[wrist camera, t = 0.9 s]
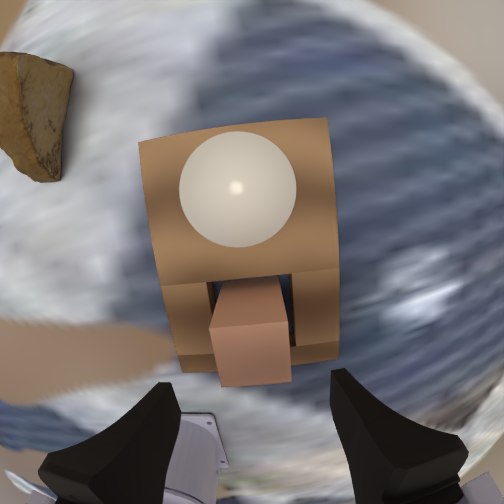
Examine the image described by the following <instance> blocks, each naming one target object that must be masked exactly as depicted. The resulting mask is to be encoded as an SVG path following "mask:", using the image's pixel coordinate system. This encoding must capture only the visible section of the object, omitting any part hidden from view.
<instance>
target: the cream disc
mask: <svg viewBox="0 0 504 504" xmlns="http://www.w3.org/2000/svg"><path fill="white" fill-rule="evenodd" d="M179 195H180V201H181V206H182V209H183V211H184V214H185V216H186V218H187V219H188V221H189V222H190V224H191V225H192V226H193V227H194V229H195V230H196V231H197V232H199V233H200V234H201V235H202V236H203V237H205V238H206V239H208V240H210V241H212V242H214V243H216V244H219V245H223V246H227V247H236V248H237V247H248V246H253V245H256V244H259V243H261V242H263V241H266V240H267V239H269V238H270V237H272V236H273V235H274V234H276V233H277V232H278V231H279V230H280V229H281V228H282V227H283V226H284V224H285V223H286V222H287V220H288V218H289V216H290V215H291V213H292V210H293V207H294V204H295V199H296V180H295V175H294V171H293V168H292V166H291V164H290V162H289V160H288V159H287V157H286V156H285V154H284V153H283V152H282V151H281V150H280V149H279V148H278V147H277V146H276V145H275V144H274V143H272V142H271V141H269V140H268V139H266V138H264V137H262V136H260V135H257V134H254V133H249V132H240V131H236V132H227V133H222V134H219V135H216V136H214V137H212V138H210V139H208V140H207V141H205V142H204V143H202V144H201V145H200V146H199V147H197V148H196V149H195V151H194V152H193V153H192V154H191V155H190V157H189V158H188V160H187V162H186V164H185V166H184V168H183V171H182V174H181V178H180V184H179Z"/></svg>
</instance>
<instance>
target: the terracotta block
mask: <svg viewBox="0 0 504 504" xmlns="http://www.w3.org/2000/svg"><path fill="white" fill-rule="evenodd" d="M209 331H210V336H211V341H212V346H213V350H214V355H215V360H216V365H217V369H218V374H219V378H220V382H221V387H237V386H252V385H264V384H275V383H284V382H292V377H291V360H290V345H289V330H288V319H287V315H286V310H285V305H284V301H283V296H282V292H281V287H280V282H279V278H278V276H275V277H266V278H256V279H246V280H236V281H226V282H223V283H222V287H221V290H220V293H219V296H218V300H217V303H216V306H215V310H214V313H213V316H212V320H211V323H210V326H209Z"/></svg>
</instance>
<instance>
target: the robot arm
mask: <svg viewBox="0 0 504 504" xmlns="http://www.w3.org/2000/svg"><path fill="white" fill-rule="evenodd" d="M330 407H331V411H332V416H333V421H334V424H335V426H336V429H337V432H338V435H339V438H340V440H341V443H342V446H343V449H344V452H345V455H346V457H347V461H348V464H349V469H350V474H351V478H352V484H353V489H354V495H355V501H356V504H504V497H503V495H502V494H501V492H500V490H499V488H498V487H497V485H496V483H495V482H494V480H493V478H492V477H491V475H490V473H489V472H485V473H484V474H482V475H480V476H479V477H477V478H475V479H473V480H471V481H469V482H468V483H466V484H465V485H463V486H462V487H461V488H460V486H459V484H458V482H459V481H460V478H459V476H458V474H457V473H458V472H459V470H460V469H461V467H462V466H463V464H464V463H465V461H466V459H467V457H468V453H469V452H468V450H467V448H466V447H465V445H464V443H463V442H462V440H461V439H460V438H459V437H458V435H454V434H449V433H445V432H441V431H437V430H434V429H431V428H428V427H425V426H423V425H420V424H418V423H416V422H414V421H412V420H409V419H407V418H405V417H404V416H402V415H400V414H398V413H397V412H395V411H393V410H392V409H390V408H389V407H387V406H386V405H385V404H383V403H382V402H381V401H379V400H378V399H377V398H376V397H374V396H373V395H372V394H371V393H370V392H369V391H368V390H366V389H365V388H364V387H363V386H362V385H361V384H360V383H359V382H358V381H357V380H356V379H355V378H354V377H353V376H352V375H351V374H350V373H349V372H348V371H347V370H346V369H345V368H342V369H336V370H331V386H330ZM228 467H229V464H228V461H227V458H226V454H225V451H224V448H223V445H222V442H221V439H220V435H219V432H218V429H217V426H216V422H215V419H214V416H213V415H211V414H182V413H181V410H180V407H179V404H178V402H177V399H176V396H175V393H174V390H173V387H172V384H171V383H170V382H159V383H158V384H156V385H155V386H154V387H153V388H152V389H151V390H150V391H149V392H148V393H147V394H146V395H145V396H144V397H143V398H142V399H141V400H140V401H139V402H138V403H137V404H136V405H135V406H134V407H133V408H132V409H131V410H129V411H128V412H127V413H126V414H125V415H124V416H122V417H121V418H120V419H119V420H118V421H116V422H115V423H114V424H112V425H111V426H109V427H108V428H106V429H105V430H103V431H102V432H100V433H98V434H96V435H95V436H93V437H91V438H89V439H87V440H85V441H83V442H81V443H79V444H76V445H74V446H71V447H68V448H66V449H62V450H59V451H55V452H52V453H48V455H47V456H46V458H45V460H44V461H43V463H42V465H41V466H40V468H39V470H38V475H39V477H40V479H41V480H42V481H43V482H44V483H45V484H46V485H47V486H48V487H49V488H50V489H51V491H52V492H54V493H55V494H56V495H57V496H58V498H57V500H56V501H55V500H53V499H52V498H50V497H48V496H46V495H43V494H41V493H39V492H37V491H35V490H33V491H32V493H31V494H30V496H29V498H28V500H27V502H26V504H216V497H217V488H218V480H219V471H220V468H228Z"/></svg>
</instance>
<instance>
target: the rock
mask: <svg viewBox="0 0 504 504" xmlns="http://www.w3.org/2000/svg"><path fill="white" fill-rule="evenodd" d="M72 79H73V70H72V69H70V68H68V67H67V66H65V65H62V64H59V63H56V62H53V61H50V60H47V59H43V58H40V57H38V56H35V55H31V54H27V53H18V52H0V148H1V149H2V150H4V151H5V153H6V154H7V155H8V156H9V157H11V159H12V160H13V163H14V166H15V168H16V169H17V170H18V171H20V172H21V173H23V174H26V175H27V176H28V177H30V178H31V179H32V180H33V181H35V182H36V181H38V182H40V183H44V182H57V181H59V180H60V173H61V148H62V139H63V126H64V121H65V118H66V111H67V105H68V102H69V92H70V91H69V88H70V86H71V83H72Z"/></svg>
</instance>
